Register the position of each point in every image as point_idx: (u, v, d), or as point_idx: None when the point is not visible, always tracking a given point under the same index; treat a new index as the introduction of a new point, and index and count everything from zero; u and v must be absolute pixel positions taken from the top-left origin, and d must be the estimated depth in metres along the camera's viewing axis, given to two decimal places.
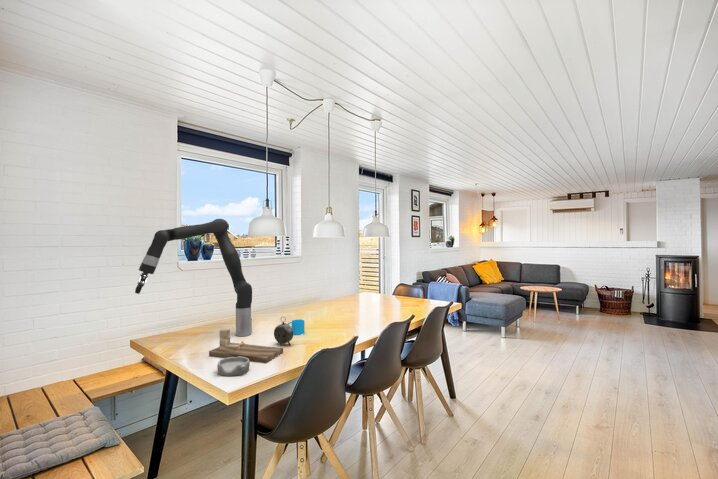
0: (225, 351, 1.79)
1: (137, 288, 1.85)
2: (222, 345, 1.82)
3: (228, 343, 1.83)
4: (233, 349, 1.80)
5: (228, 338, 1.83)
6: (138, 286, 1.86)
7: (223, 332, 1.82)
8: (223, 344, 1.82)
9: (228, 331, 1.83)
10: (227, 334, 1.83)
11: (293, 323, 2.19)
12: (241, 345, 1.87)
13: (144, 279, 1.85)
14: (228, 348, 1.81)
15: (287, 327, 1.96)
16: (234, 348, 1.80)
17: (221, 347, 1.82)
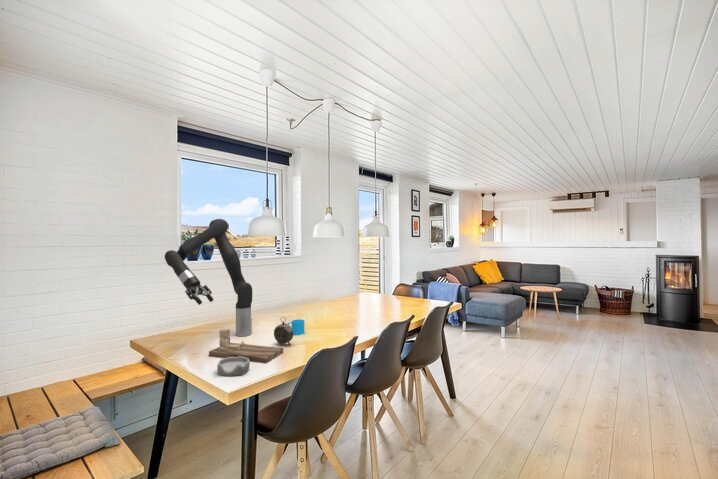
0: (225, 351, 1.79)
1: None
2: (222, 345, 1.82)
3: (228, 343, 1.83)
4: (233, 349, 1.80)
5: (228, 338, 1.83)
6: None
7: (223, 332, 1.82)
8: (223, 344, 1.82)
9: (228, 331, 1.83)
10: (227, 334, 1.83)
11: (293, 323, 2.19)
12: (241, 345, 1.87)
13: (188, 292, 1.82)
14: (228, 348, 1.81)
15: (287, 327, 1.96)
16: (234, 348, 1.80)
17: (221, 347, 1.82)
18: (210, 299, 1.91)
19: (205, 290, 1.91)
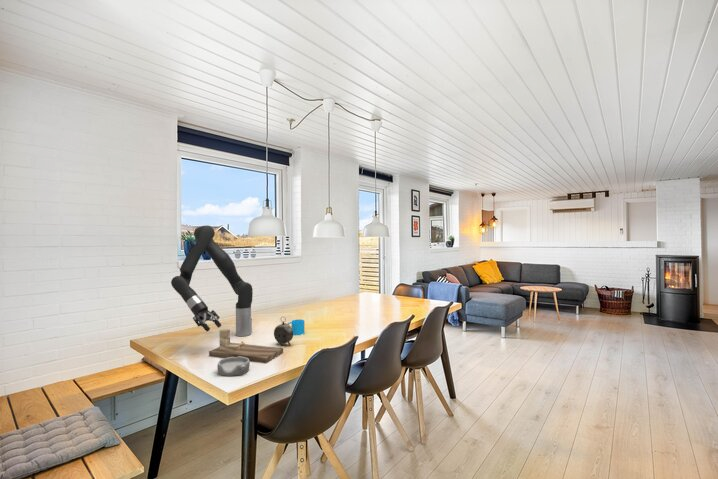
0: (225, 351, 1.79)
1: None
2: (222, 345, 1.82)
3: (228, 343, 1.83)
4: (233, 349, 1.80)
5: (228, 338, 1.83)
6: None
7: (223, 332, 1.82)
8: (223, 344, 1.82)
9: (228, 331, 1.83)
10: (227, 334, 1.83)
11: (293, 323, 2.19)
12: (241, 345, 1.87)
13: (196, 319, 1.81)
14: (228, 348, 1.81)
15: (287, 327, 1.96)
16: (234, 348, 1.80)
17: (221, 347, 1.82)
18: (218, 325, 1.89)
19: (213, 316, 1.89)
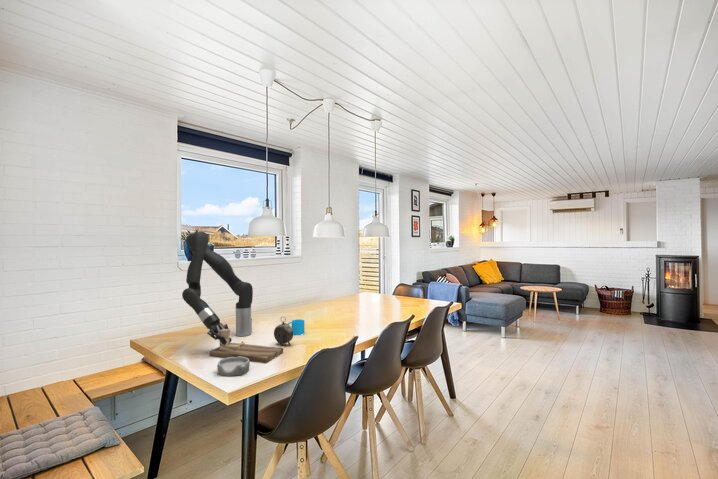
0: (225, 351, 1.79)
1: None
2: (222, 345, 1.82)
3: (228, 343, 1.83)
4: (233, 349, 1.80)
5: (228, 338, 1.83)
6: None
7: (223, 332, 1.82)
8: (223, 344, 1.82)
9: (228, 331, 1.83)
10: (227, 334, 1.83)
11: (293, 323, 2.19)
12: (241, 345, 1.87)
13: (212, 333, 1.79)
14: (228, 348, 1.81)
15: (287, 327, 1.96)
16: (234, 348, 1.80)
17: (221, 347, 1.82)
18: None
19: None
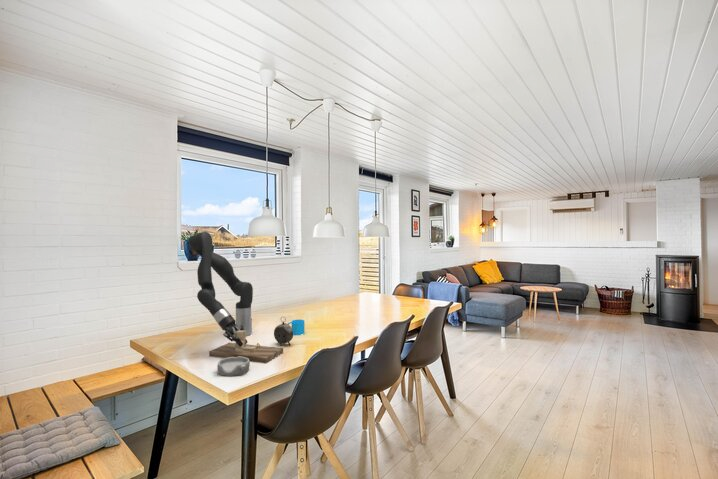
0: (225, 351, 1.79)
1: None
2: (238, 347, 1.79)
3: (244, 345, 1.80)
4: (249, 351, 1.77)
5: (244, 340, 1.80)
6: None
7: (239, 334, 1.79)
8: (239, 346, 1.79)
9: (244, 333, 1.80)
10: (243, 336, 1.80)
11: (293, 323, 2.19)
12: (257, 347, 1.84)
13: (228, 335, 1.76)
14: (244, 350, 1.78)
15: (287, 327, 1.96)
16: (250, 350, 1.77)
17: (237, 349, 1.79)
18: None
19: None
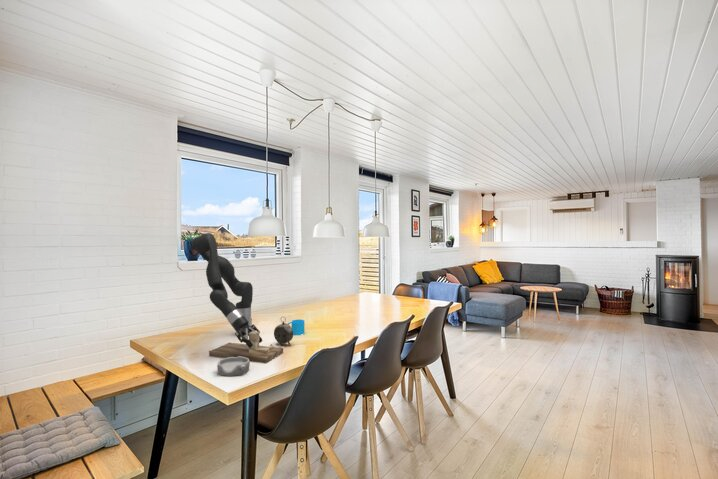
0: (225, 351, 1.79)
1: (247, 343, 1.74)
2: (251, 348, 1.77)
3: (257, 346, 1.78)
4: (263, 352, 1.75)
5: (257, 341, 1.78)
6: None
7: (253, 335, 1.77)
8: (253, 347, 1.77)
9: (257, 334, 1.78)
10: (257, 337, 1.77)
11: (293, 323, 2.19)
12: (270, 348, 1.82)
13: (238, 334, 1.73)
14: (258, 351, 1.76)
15: (287, 327, 1.96)
16: (264, 351, 1.74)
17: (250, 350, 1.77)
18: (259, 340, 1.82)
19: (254, 330, 1.82)
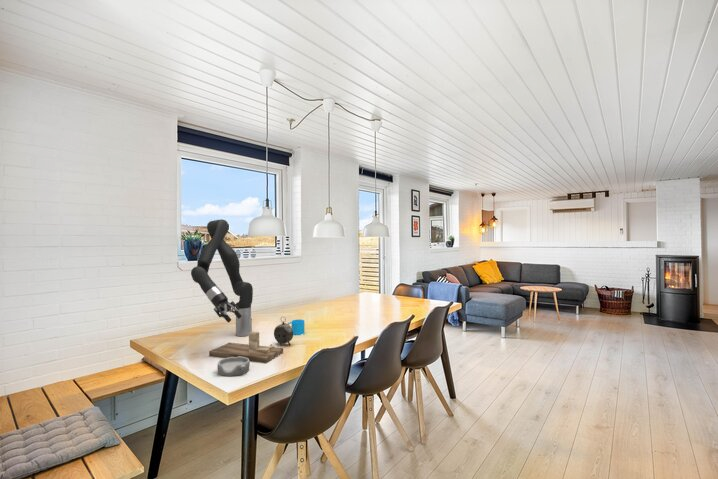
0: (225, 351, 1.79)
1: None
2: (251, 348, 1.77)
3: (257, 346, 1.78)
4: (263, 352, 1.75)
5: (257, 341, 1.78)
6: None
7: (253, 335, 1.77)
8: (253, 347, 1.77)
9: (257, 334, 1.78)
10: (257, 337, 1.77)
11: (293, 323, 2.19)
12: (270, 348, 1.82)
13: (217, 310, 1.78)
14: (258, 351, 1.76)
15: (287, 327, 1.96)
16: (264, 351, 1.74)
17: (250, 350, 1.77)
18: (238, 316, 1.87)
19: (233, 307, 1.87)
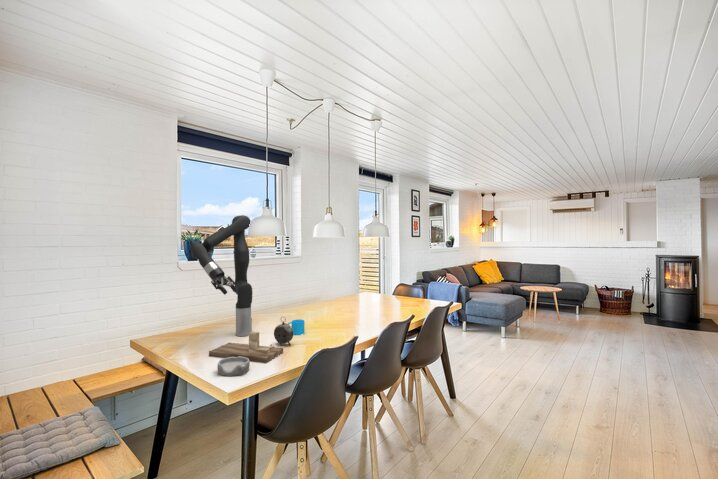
0: (225, 351, 1.79)
1: (222, 291, 1.90)
2: (251, 348, 1.77)
3: (257, 346, 1.78)
4: (263, 352, 1.75)
5: (257, 341, 1.78)
6: (220, 289, 1.91)
7: (253, 335, 1.77)
8: (253, 347, 1.77)
9: (257, 334, 1.78)
10: (257, 337, 1.77)
11: (293, 323, 2.19)
12: (270, 348, 1.82)
13: (214, 282, 1.89)
14: (258, 351, 1.76)
15: (287, 327, 1.96)
16: (264, 351, 1.74)
17: (250, 350, 1.77)
18: (234, 289, 1.98)
19: (229, 281, 1.98)
